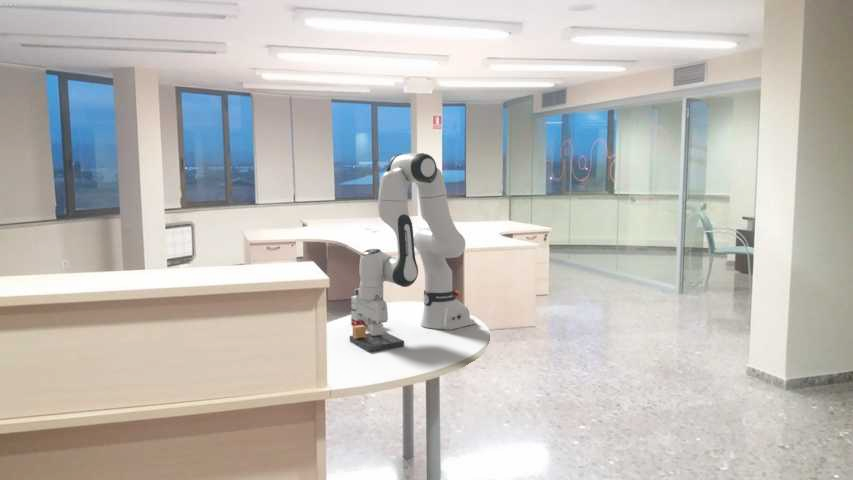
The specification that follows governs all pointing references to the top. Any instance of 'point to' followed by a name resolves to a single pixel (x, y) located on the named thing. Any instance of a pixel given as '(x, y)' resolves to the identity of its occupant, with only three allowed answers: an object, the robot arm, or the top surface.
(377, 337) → the console
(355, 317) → the ink box
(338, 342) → the top surface
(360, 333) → the fader
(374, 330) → the fader
